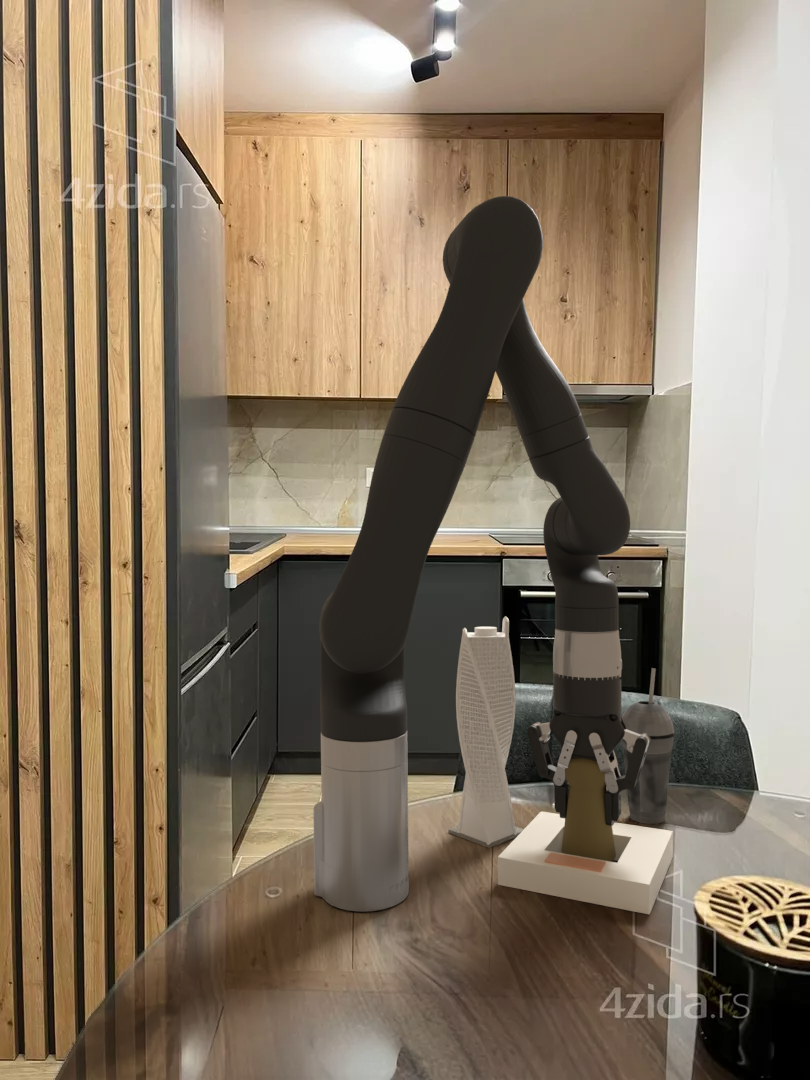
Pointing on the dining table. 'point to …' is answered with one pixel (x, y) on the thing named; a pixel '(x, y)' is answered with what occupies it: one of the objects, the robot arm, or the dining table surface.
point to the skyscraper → (485, 734)
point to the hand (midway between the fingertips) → (587, 819)
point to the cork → (587, 813)
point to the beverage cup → (650, 759)
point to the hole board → (589, 865)
